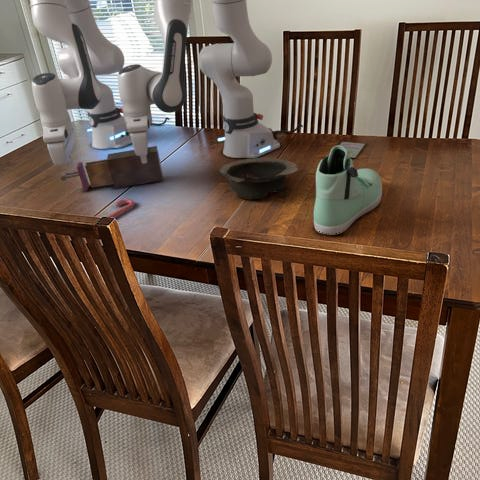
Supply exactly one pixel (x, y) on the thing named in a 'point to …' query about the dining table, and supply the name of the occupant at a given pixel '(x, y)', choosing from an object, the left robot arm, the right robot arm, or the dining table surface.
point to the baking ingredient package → (352, 148)
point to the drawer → (92, 174)
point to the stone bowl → (257, 176)
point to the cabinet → (134, 168)
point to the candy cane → (118, 212)
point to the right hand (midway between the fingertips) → (144, 158)
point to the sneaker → (343, 192)
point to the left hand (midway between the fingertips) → (69, 167)
